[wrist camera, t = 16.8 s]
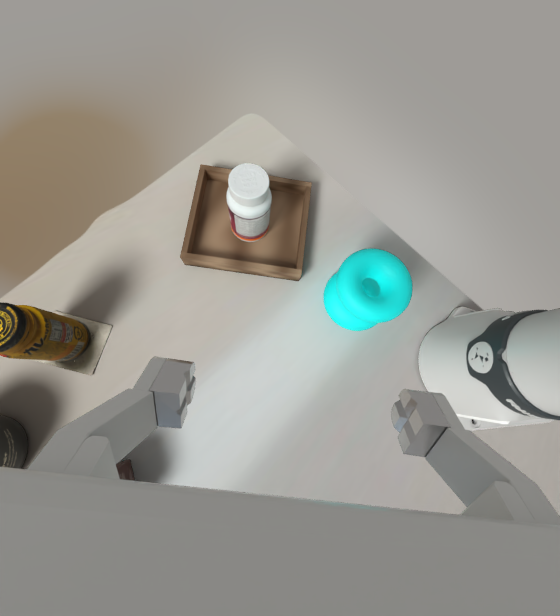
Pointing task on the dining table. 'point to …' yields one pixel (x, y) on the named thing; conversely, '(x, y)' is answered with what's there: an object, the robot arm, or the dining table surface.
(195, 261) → the tray
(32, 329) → the condiment
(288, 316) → the dining table surface
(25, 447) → the jar
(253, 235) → the pill bottle
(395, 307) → the donuts
